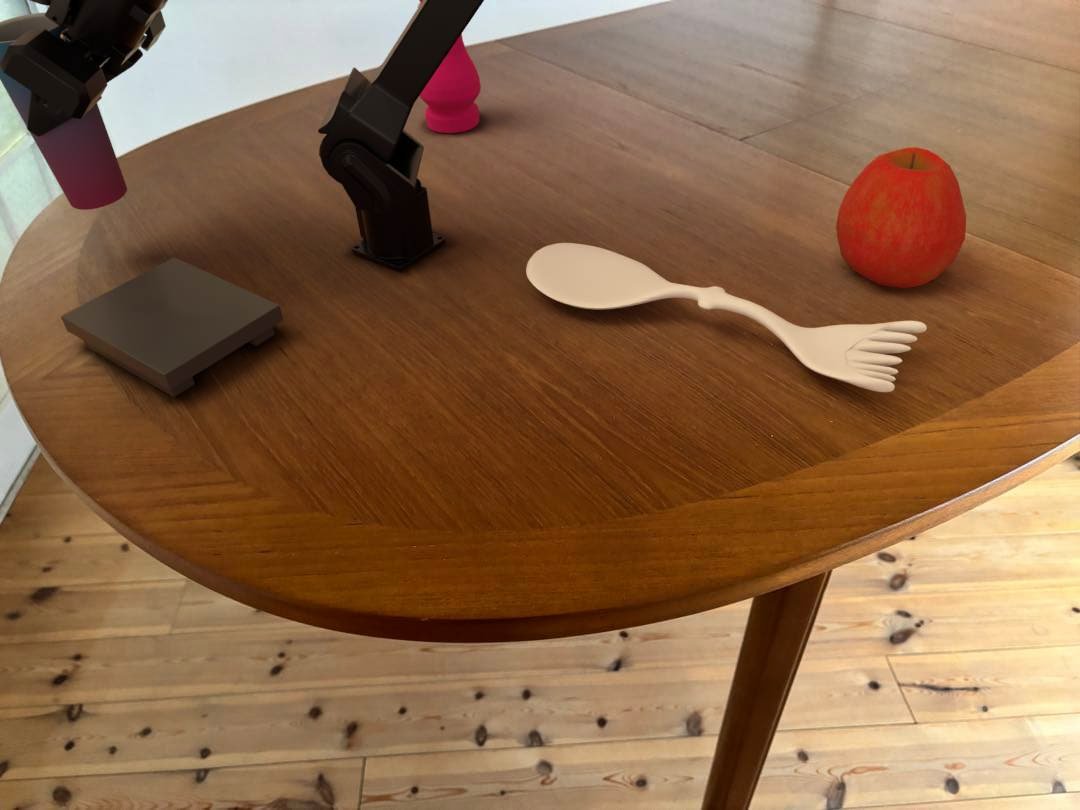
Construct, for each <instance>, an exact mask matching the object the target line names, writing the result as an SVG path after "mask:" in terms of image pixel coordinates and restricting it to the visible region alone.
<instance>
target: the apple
mask: <svg viewBox="0 0 1080 810" xmlns="http://www.w3.org/2000/svg"><path fill="white" fill-rule="evenodd" d="M835 229H836V237H837V242H838V247H839V253H840V256H841V258H842V259H843V260H844V261H845V263H846V264H847V266H848V267H849V268H851V269H852V270H853V271H855V272H856V273H857V274H858V275H860V276H861V277H863V278H865V279H867V280H870V281H871V282H873V283H876V284H878V285H879V286H884V287H892V288H898V289H909V288H913V287H919V286H924V285H926V284H928V283H930V282H931V281H933V280H935V279H936V278H938V277H939V276H940V275H941V274H942V273H943V272H944V271H945V270H946V269H947V268H948V267H950V266H951V265H953V262H954V261H955V259H956V257H957V256H958V253H959V251H960V250H961V248H962V246H963V244H964V242H965V240H966V233H967V231H966V230H967V214H966V208H965V205H964V200H963V196H962V192H961V188H960V183H959V181H958V178H957V176H956V174H955V172H954V171H953V169H952V166H951V165H950V164H949V163H948V162H946V161H945V159H943V158H942V157H940V156H939V155H938V154H937V153H934V152H933V151H931V150H929V149H925V148H921V147H917V146H915V147H914V146H913V147H905V148H900V149H896V150H892V151H889V152H886V153H882V154H879V155H878V156H876V157H875V158H874V159H873V160H872V161H870V162H869V163H868V164H867V165H866V166H864V168H863V169H862V171H861V172H860V173H859V174H858V175H857V176H856V178H855V179H854V180H853V182H852V183H851V185H850V186H849V187H848V189H847V190H846V191H845V193H844V196H843V198H842V201H841V203H840V205H839V208H838V211H837V218H836V223H835Z"/></svg>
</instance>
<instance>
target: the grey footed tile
mask: <svg viewBox="0 0 1080 810" xmlns="http://www.w3.org/2000/svg"><path fill="white" fill-rule="evenodd" d="M60 318H61V321H62V322H63V325H64V327H65V329H66V332H68V333H69V334H72V335H73V336H75V337H77V338H78V339H81V340H82V341H83V342H84V345H85V347H86V348H87V349H89V350H91V351H93V352H94V353H96V354H98V355H99V356H101V357H103V358H105V359H107V360H108V361H110V362H112V363H114V364H115V365H117V366H119V367H120V368H122V369H124V370H126V371H127V372H129V373H131V374H132V375H134V376H136V377H138V378H140V379H141V380H143V381H145V382H146V383H148V384H150V385H151V386H153V387H155V388H157V389H159V390H160V391H162V392H164V393H166V394H167V395H169V396H171V397H173V398H176V397H177V396H179V395H180V394H183V392H185V391H187V390H188V389H190V388H192V387H194V386H195V385H196V383H195V381H194V378H193V377H194V376H196V375H198V374H200V373H201V372H203V371H204V370H206V369H207V368H209V367H210V366H212V365H214V364H215V363H217V362H219V361H220V360H222V359H224V358H225V357H226V356H228V355H229V354H231V353H233V352H234V351H237V350H238V349H239V348H241V347H243V346H244V345H246V344H247V343H249V344H251V345H252V346H253V345H254V346H258V345H261V344H262V343H264V342H265V341H266V340H268V339H270V338H272V336H274V335H275V330H274V327H275V326H276V325H278V324H280V323H281V322H283V321H284V318H283V314H282V310H281V307H280V304H278V303H276V302H273V301H271V300H269V299H267V298H264V297H262V296H260V295H259V294H256V293H253V292H251V291H249V290H247V289H245V288H243V287H241V286H238V285H236V284H233V283H232V282H229V281H228V280H225V279H223V278H221V277H218V276H216V275H214V274H212V273H210V272H207V271H206V270H203V269H201V268H199V267H196V266H194V265H192V264H190V263H187V262H186V261H184V260H181V259H179V258H177V257H172V258H170V259H168V260H167V261H165V262H162V263H161V264H159V265H157V266H155V267H153V268H150V269H149V270H147V271H145V272H143V273H141V274H139V275H138V276H135V277H133V278H132V279H129V280H127V281H126V282H124V283H122V284H120V285H118V286H116V287H114V288H113V289H111V290H109V291H106V292H105V293H103V294H100V295H99V296H97V297H95V298H93V299H91V300H89V301H87V302H85V303H83V304H82V305H80V306H77V307H76V308H74V309H72V310H70V311H67V312H66V313H64V314H62V315H60Z"/></svg>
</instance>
